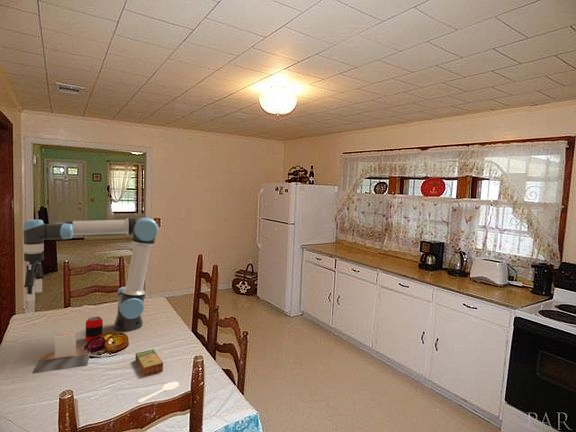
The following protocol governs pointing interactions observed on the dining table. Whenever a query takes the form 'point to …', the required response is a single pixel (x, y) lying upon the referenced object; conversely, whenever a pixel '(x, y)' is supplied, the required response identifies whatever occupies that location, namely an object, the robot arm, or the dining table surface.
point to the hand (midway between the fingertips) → (34, 296)
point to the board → (61, 362)
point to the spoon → (166, 387)
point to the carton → (149, 362)
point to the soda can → (93, 328)
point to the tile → (65, 345)
